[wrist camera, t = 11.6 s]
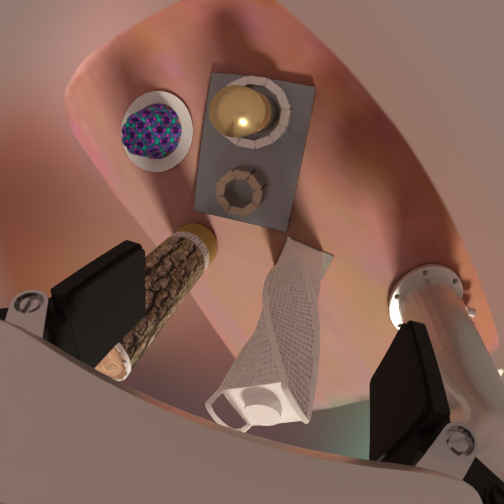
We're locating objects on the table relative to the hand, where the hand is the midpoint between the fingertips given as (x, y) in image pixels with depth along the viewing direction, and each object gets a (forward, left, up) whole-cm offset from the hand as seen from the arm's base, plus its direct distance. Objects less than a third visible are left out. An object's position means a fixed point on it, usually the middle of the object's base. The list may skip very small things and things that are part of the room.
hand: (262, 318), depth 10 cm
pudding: (+22, -2, -31) cm, 38 cm away
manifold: (+8, -1, -31) cm, 32 cm away
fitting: (+8, -6, -29) cm, 31 cm away
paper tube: (+14, +14, -31) cm, 37 cm away
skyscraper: (-1, +13, -31) cm, 34 cm away
